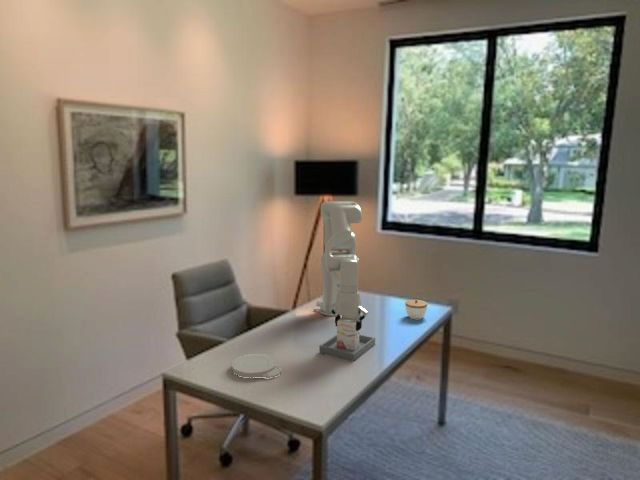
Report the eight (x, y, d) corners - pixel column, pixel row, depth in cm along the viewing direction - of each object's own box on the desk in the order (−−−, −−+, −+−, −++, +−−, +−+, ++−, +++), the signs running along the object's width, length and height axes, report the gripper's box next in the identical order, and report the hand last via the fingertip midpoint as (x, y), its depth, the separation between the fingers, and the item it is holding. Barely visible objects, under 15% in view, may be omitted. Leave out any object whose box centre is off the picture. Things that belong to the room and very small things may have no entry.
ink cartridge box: (336, 347, 204) (336, 314, 201) (341, 342, 208) (341, 310, 205) (355, 351, 200) (355, 317, 197) (359, 346, 205) (360, 313, 202)
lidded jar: (429, 316, 244) (430, 298, 242) (421, 322, 235) (422, 304, 233) (409, 312, 250) (410, 295, 248) (401, 318, 241) (402, 300, 239)
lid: (263, 386, 172) (263, 378, 171) (221, 373, 182) (221, 365, 181) (291, 368, 186) (291, 361, 185) (251, 356, 196) (251, 349, 196)
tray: (319, 352, 200) (319, 345, 199) (342, 337, 217) (342, 330, 216) (353, 361, 192) (354, 354, 191) (375, 344, 209) (375, 337, 208)
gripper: (326, 287, 201) (325, 326, 204) (363, 293, 192) (362, 334, 195) (334, 283, 207) (334, 321, 210) (371, 289, 198) (370, 328, 201)
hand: (348, 327), depth 202 cm, fingers open, 9 cm apart
